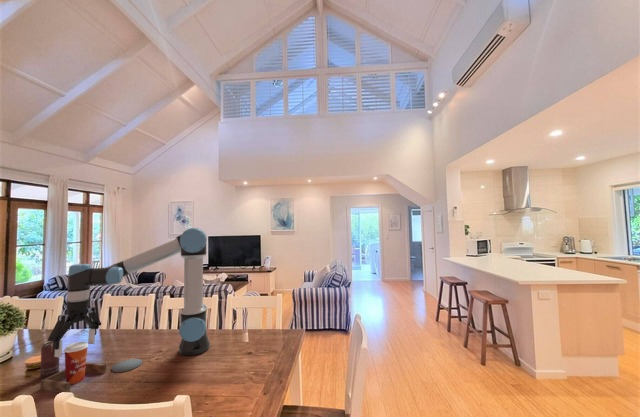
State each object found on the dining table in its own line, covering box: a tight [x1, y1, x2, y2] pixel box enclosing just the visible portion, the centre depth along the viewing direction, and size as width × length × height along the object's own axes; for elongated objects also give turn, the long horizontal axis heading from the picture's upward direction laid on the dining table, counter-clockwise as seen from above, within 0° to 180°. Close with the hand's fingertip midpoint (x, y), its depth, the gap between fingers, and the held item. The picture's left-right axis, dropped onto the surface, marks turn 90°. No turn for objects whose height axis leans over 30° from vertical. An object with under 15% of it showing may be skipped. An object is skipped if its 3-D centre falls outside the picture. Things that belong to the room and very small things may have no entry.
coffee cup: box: [63, 341, 89, 385], centre depth 123 cm, size 8×8×15 cm
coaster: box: [111, 358, 143, 373], centre depth 134 cm, size 12×12×1 cm
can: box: [39, 341, 61, 380], centre depth 127 cm, size 6×6×14 cm
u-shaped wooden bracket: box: [40, 361, 107, 393], centre depth 122 cm, size 14×16×4 cm
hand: (75, 349), depth 123 cm, fingers open, 13 cm apart
